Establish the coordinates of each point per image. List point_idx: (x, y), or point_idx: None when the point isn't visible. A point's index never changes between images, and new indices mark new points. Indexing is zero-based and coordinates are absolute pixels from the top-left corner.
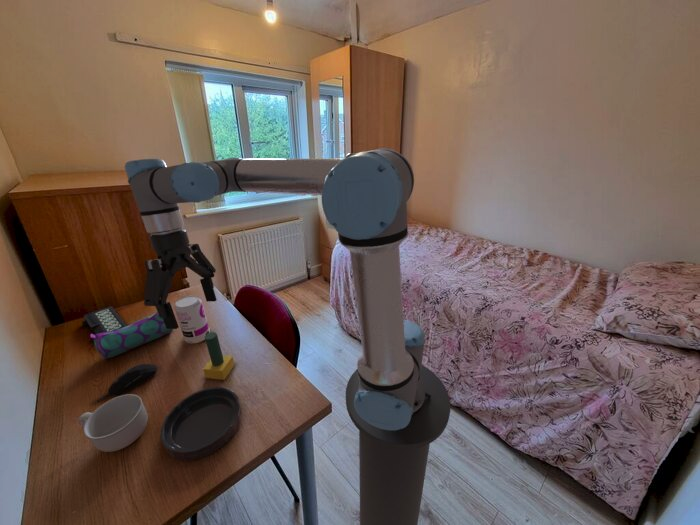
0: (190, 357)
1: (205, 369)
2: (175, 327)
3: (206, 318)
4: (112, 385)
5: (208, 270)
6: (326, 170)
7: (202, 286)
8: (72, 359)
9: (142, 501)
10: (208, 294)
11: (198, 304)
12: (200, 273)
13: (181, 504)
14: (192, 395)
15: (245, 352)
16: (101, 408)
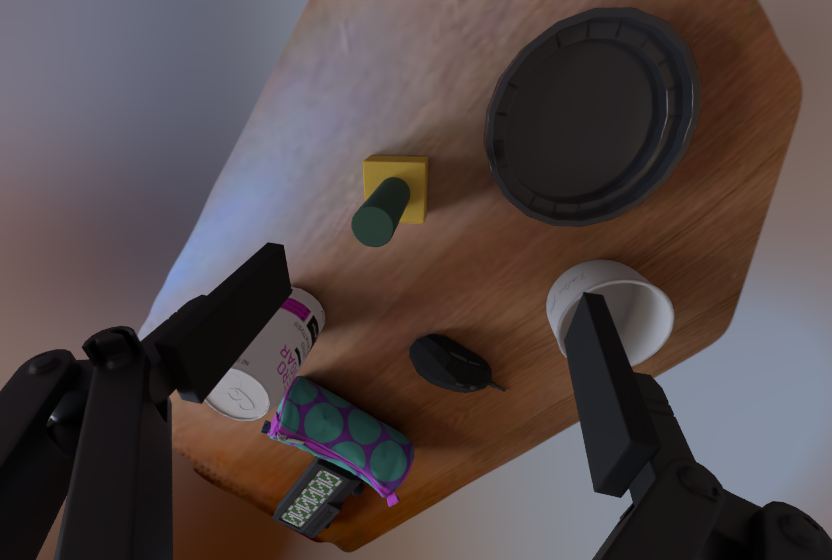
0: (367, 289)
1: (424, 215)
2: (605, 302)
3: None
4: (478, 388)
5: (75, 405)
6: None
7: (235, 357)
8: (411, 483)
9: (749, 162)
10: (263, 297)
11: None
12: (157, 437)
13: (784, 63)
14: (516, 199)
15: (317, 146)
16: None
